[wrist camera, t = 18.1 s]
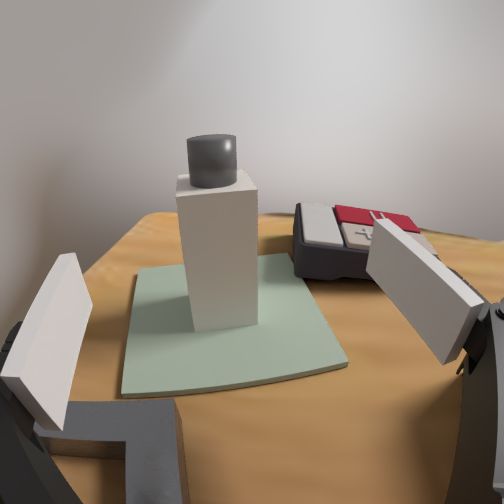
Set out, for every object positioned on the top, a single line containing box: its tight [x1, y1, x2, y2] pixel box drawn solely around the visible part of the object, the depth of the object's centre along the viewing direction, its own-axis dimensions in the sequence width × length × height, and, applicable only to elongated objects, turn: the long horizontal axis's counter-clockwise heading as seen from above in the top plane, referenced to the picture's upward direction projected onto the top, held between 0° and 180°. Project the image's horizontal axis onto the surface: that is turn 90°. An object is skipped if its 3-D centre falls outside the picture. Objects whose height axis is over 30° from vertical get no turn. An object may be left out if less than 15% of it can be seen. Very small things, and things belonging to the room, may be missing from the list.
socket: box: [33, 398, 190, 504], centre depth 11 cm, size 12×12×2 cm
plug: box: [176, 134, 258, 332], centre depth 23 cm, size 5×5×14 cm
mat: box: [121, 253, 349, 399], centre depth 27 cm, size 16×16×1 cm
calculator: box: [293, 202, 441, 281], centre depth 34 cm, size 11×4×15 cm
